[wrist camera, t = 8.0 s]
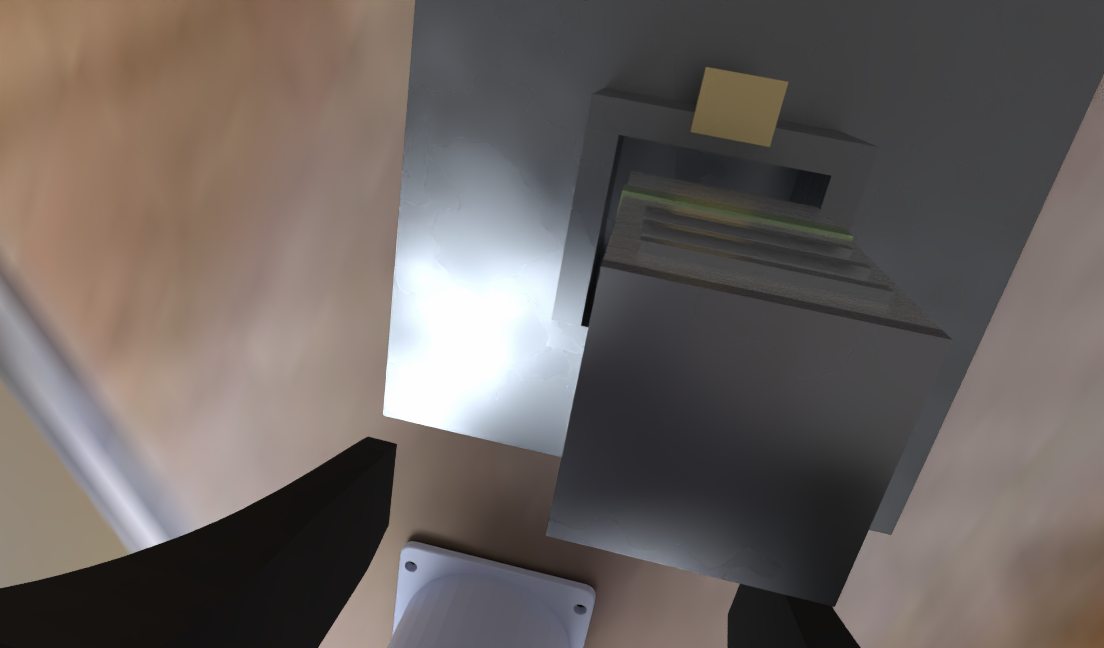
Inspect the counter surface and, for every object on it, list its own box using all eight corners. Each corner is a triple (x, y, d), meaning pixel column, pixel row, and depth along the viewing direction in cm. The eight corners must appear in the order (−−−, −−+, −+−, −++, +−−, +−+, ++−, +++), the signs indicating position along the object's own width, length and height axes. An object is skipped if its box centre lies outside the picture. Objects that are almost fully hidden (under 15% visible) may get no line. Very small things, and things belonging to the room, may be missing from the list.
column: (765, 375, 16) (836, 610, 9) (594, 338, 16) (541, 537, 9) (822, 200, 14) (963, 329, 7) (631, 162, 14) (598, 253, 8)
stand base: (882, 516, 23) (933, 624, 19) (393, 402, 25) (333, 477, 20) (1142, -65, 16) (1320, -111, 12) (442, -174, 18) (366, -252, 13)
